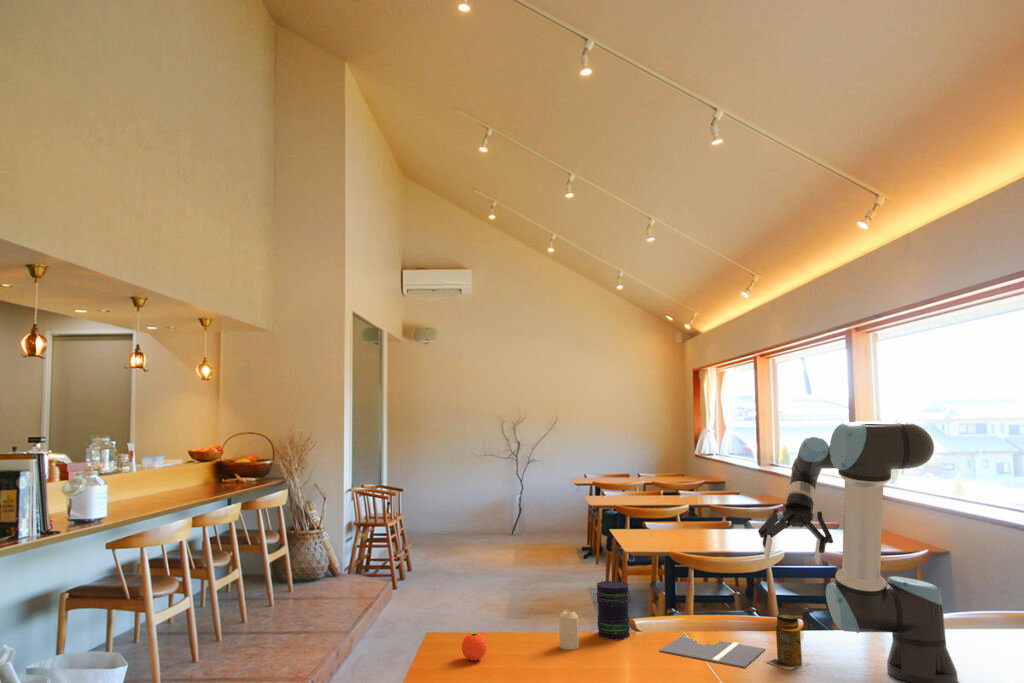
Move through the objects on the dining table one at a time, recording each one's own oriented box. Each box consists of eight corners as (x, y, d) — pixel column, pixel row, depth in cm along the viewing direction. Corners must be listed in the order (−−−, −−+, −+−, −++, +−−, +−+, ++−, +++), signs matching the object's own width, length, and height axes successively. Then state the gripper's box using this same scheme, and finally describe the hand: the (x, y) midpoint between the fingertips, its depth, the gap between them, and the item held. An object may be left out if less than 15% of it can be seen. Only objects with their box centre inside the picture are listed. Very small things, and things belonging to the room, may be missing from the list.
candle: (556, 645, 196) (555, 610, 197) (572, 643, 198) (572, 607, 199) (565, 651, 191) (564, 614, 192) (582, 648, 193) (581, 612, 194)
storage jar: (636, 637, 203) (634, 586, 205) (608, 641, 199) (606, 589, 201) (619, 628, 212) (618, 579, 214) (591, 632, 208) (590, 582, 211)
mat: (765, 650, 190) (765, 647, 190) (745, 668, 176) (745, 665, 176) (684, 635, 204) (683, 633, 204) (659, 651, 190) (659, 648, 190)
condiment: (809, 664, 178) (806, 617, 180) (789, 670, 174) (786, 622, 175) (785, 657, 184) (782, 611, 186) (765, 663, 180) (762, 616, 181)
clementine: (457, 656, 187) (457, 629, 188) (481, 653, 189) (481, 627, 190) (465, 665, 179) (465, 637, 180) (490, 662, 182) (490, 634, 183)
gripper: (847, 510, 200) (841, 571, 185) (761, 506, 214) (749, 562, 200) (842, 493, 196) (836, 554, 182) (755, 490, 210) (743, 546, 196)
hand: (791, 558), depth 191 cm, fingers open, 13 cm apart
